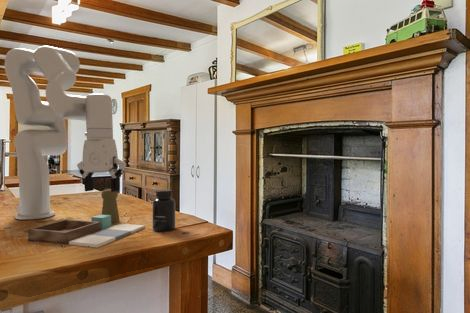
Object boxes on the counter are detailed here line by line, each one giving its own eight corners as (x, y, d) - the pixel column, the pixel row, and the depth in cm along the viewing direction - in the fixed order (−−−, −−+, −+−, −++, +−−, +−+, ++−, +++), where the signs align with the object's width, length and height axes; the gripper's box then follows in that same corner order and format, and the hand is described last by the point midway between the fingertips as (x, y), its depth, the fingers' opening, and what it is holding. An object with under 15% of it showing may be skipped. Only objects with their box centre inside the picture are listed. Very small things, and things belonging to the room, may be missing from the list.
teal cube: (91, 230, 104) (91, 217, 104) (100, 227, 108) (100, 214, 108) (102, 231, 103) (102, 217, 103) (111, 228, 107) (111, 215, 107)
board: (69, 244, 89) (68, 241, 89) (120, 226, 109) (120, 223, 108) (97, 247, 86) (97, 244, 86) (144, 228, 106) (144, 225, 106)
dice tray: (28, 240, 93) (28, 229, 93) (65, 228, 105) (65, 219, 105) (65, 244, 89) (65, 232, 89) (100, 231, 101) (100, 221, 101)
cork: (113, 223, 112) (112, 190, 111) (96, 223, 113) (96, 190, 112) (123, 220, 118) (122, 188, 117) (107, 219, 119) (106, 187, 118)
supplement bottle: (155, 233, 99) (155, 192, 99) (150, 228, 106) (149, 189, 105) (178, 230, 103) (178, 190, 102) (171, 225, 109) (171, 188, 108)
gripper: (68, 136, 104) (70, 192, 104) (115, 133, 98) (117, 193, 98) (86, 136, 111) (88, 189, 111) (131, 134, 105) (133, 189, 105)
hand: (102, 191), depth 105 cm, fingers open, 9 cm apart
